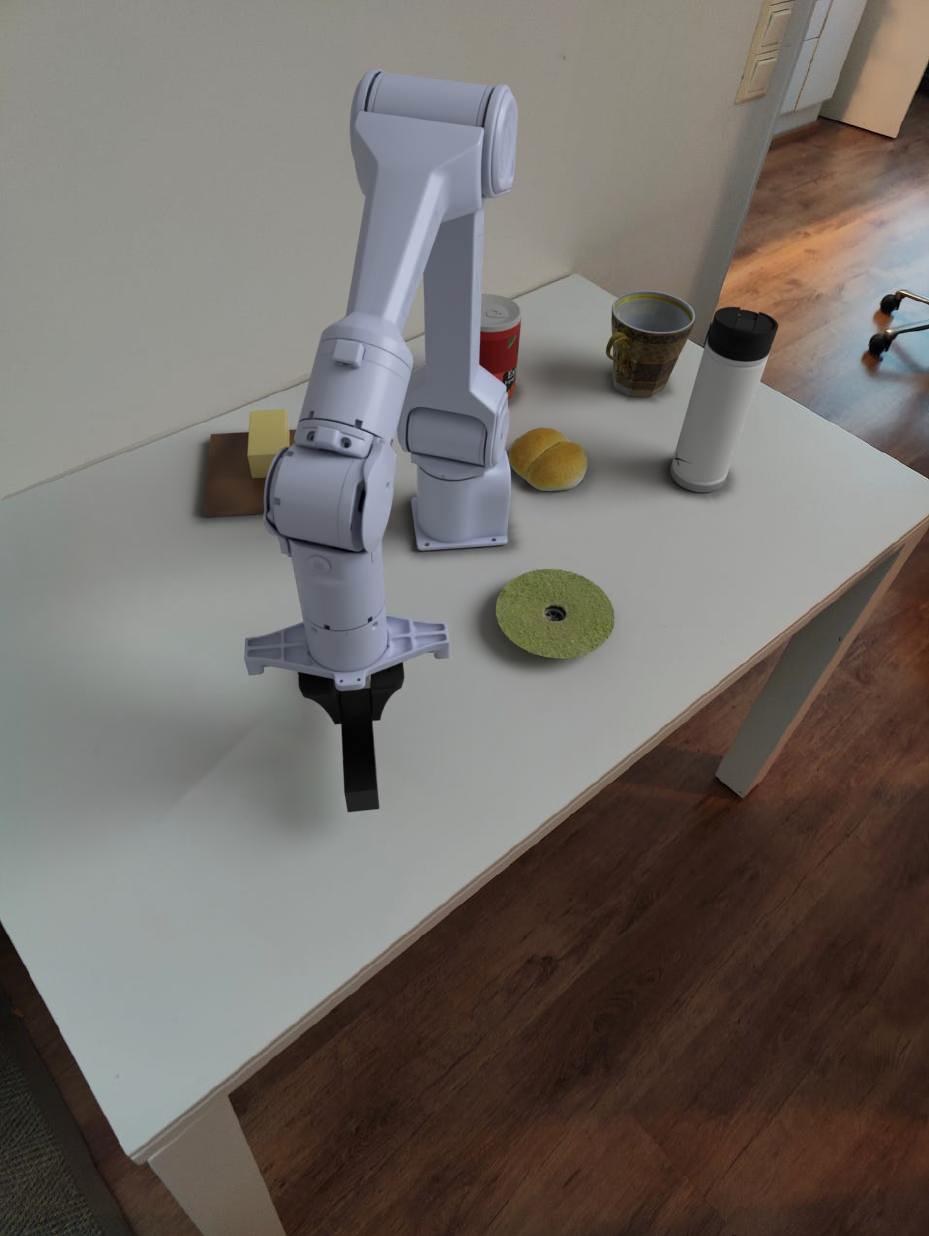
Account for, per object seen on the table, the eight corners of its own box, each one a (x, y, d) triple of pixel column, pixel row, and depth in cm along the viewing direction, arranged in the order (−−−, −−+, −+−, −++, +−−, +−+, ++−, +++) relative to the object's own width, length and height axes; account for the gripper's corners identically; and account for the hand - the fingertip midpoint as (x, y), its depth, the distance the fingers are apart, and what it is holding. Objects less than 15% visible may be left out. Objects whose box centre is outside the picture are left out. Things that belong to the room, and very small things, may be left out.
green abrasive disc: (470, 628, 78) (471, 614, 77) (540, 565, 84) (542, 551, 83) (566, 691, 74) (569, 678, 72) (633, 620, 80) (637, 607, 78)
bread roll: (551, 505, 90) (555, 476, 87) (496, 464, 94) (498, 435, 91) (602, 474, 94) (608, 446, 91) (547, 436, 98) (551, 408, 95)
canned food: (515, 409, 101) (522, 328, 93) (450, 407, 101) (452, 325, 93) (513, 374, 106) (520, 294, 98) (452, 372, 106) (454, 291, 98)
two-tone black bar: (379, 809, 62) (377, 789, 59) (347, 812, 62) (344, 792, 59) (365, 616, 74) (362, 593, 71) (338, 618, 74) (335, 595, 71)
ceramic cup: (632, 353, 111) (647, 282, 103) (692, 386, 106) (712, 314, 98) (567, 389, 105) (578, 316, 97) (627, 425, 100) (643, 352, 92)
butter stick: (289, 431, 95) (285, 408, 93) (289, 476, 90) (285, 453, 88) (254, 433, 95) (249, 410, 92) (252, 478, 90) (247, 455, 87)
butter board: (333, 435, 97) (332, 427, 96) (337, 509, 89) (336, 500, 88) (212, 442, 95) (210, 433, 95) (204, 517, 87) (202, 509, 86)
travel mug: (663, 486, 93) (709, 323, 78) (676, 452, 97) (721, 291, 82) (718, 501, 91) (775, 338, 76) (729, 466, 95) (785, 305, 80)
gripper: (230, 654, 52) (263, 764, 62) (456, 635, 54) (452, 746, 64) (235, 574, 57) (265, 689, 67) (444, 559, 58) (442, 673, 68)
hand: (356, 712), depth 66 cm, fingers closed on two-tone black bar, 2 cm apart
